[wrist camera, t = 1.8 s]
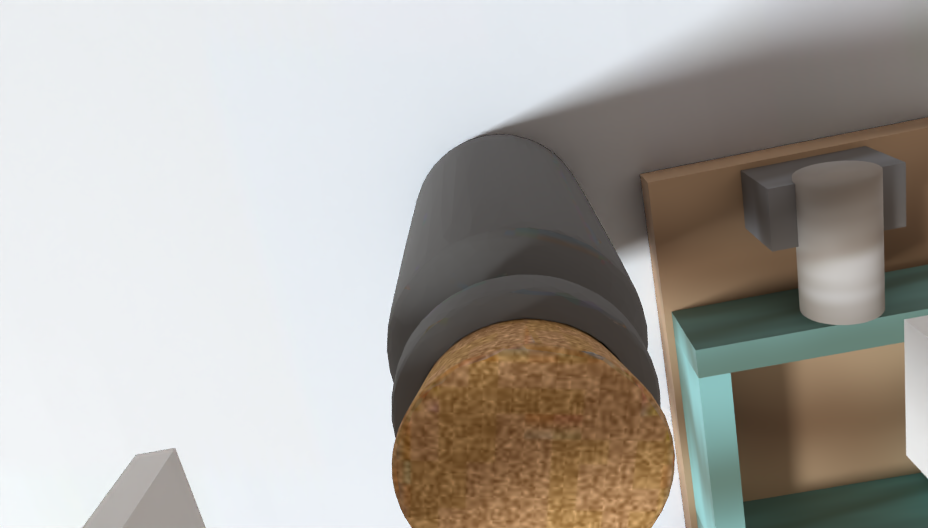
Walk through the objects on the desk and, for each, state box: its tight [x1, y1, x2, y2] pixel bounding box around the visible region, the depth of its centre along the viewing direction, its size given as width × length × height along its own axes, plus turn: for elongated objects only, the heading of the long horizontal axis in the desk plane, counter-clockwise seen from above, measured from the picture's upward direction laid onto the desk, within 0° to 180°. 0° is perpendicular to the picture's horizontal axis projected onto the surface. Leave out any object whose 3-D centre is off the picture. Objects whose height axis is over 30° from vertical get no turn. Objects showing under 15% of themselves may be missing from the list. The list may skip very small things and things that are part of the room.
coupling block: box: [640, 117, 928, 528], centre depth 27 cm, size 19×10×5 cm, turn 12°
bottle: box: [387, 134, 675, 528], centre depth 20 cm, size 6×6×15 cm
